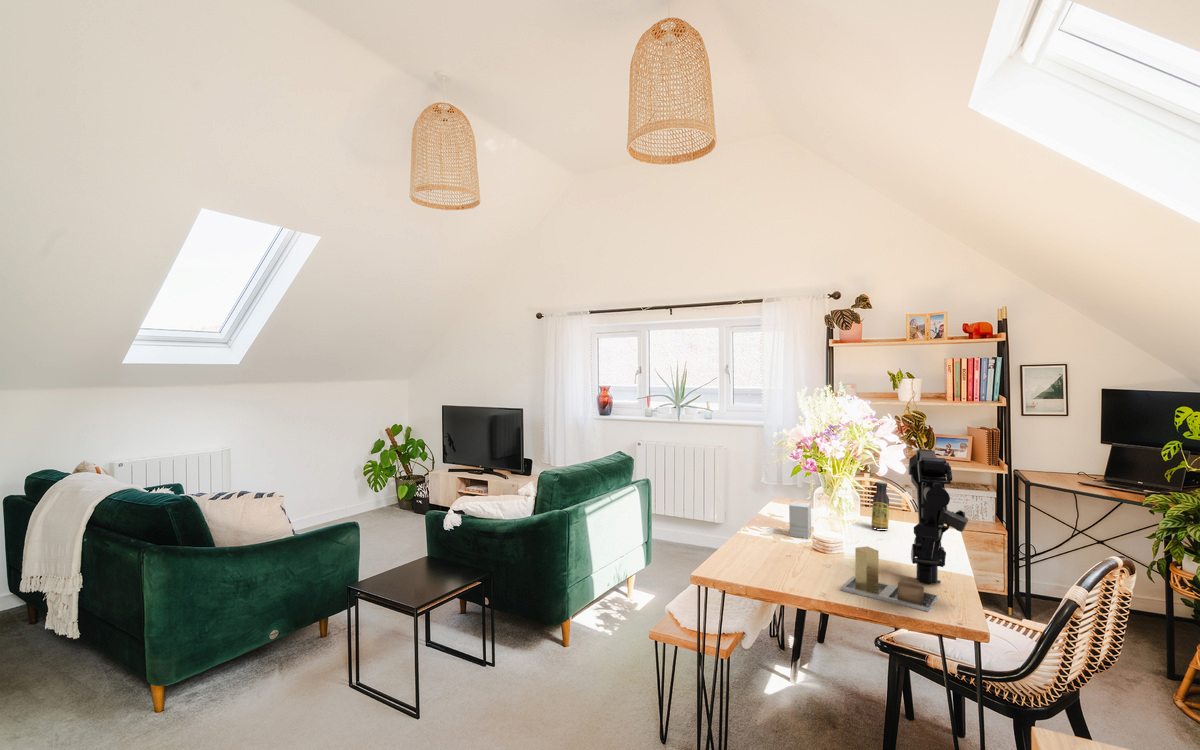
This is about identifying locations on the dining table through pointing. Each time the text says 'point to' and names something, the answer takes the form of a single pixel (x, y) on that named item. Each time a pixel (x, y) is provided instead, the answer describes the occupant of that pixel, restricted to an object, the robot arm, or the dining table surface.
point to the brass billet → (866, 569)
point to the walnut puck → (911, 592)
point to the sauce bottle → (880, 507)
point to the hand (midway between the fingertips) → (932, 554)
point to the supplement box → (800, 519)
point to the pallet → (889, 595)
